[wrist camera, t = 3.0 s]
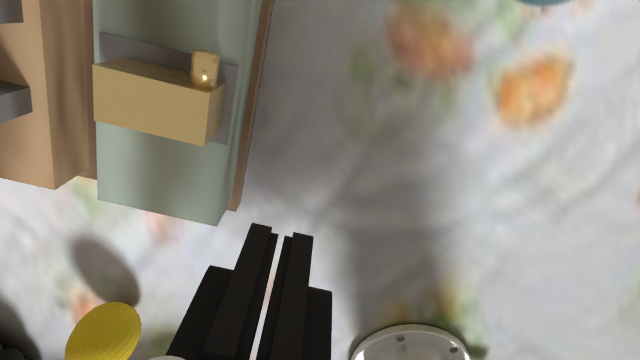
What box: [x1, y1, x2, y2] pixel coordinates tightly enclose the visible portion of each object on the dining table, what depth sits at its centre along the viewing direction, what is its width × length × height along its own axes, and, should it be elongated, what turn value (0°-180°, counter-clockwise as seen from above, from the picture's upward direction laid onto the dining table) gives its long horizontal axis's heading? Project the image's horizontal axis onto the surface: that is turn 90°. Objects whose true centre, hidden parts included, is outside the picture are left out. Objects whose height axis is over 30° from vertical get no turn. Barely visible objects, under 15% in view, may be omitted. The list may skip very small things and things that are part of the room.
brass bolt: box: [92, 48, 226, 147], centre depth 21 cm, size 6×5×3 cm
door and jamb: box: [0, 0, 274, 227], centre depth 23 cm, size 21×20×9 cm
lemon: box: [65, 302, 141, 360], centre depth 34 cm, size 6×6×8 cm
